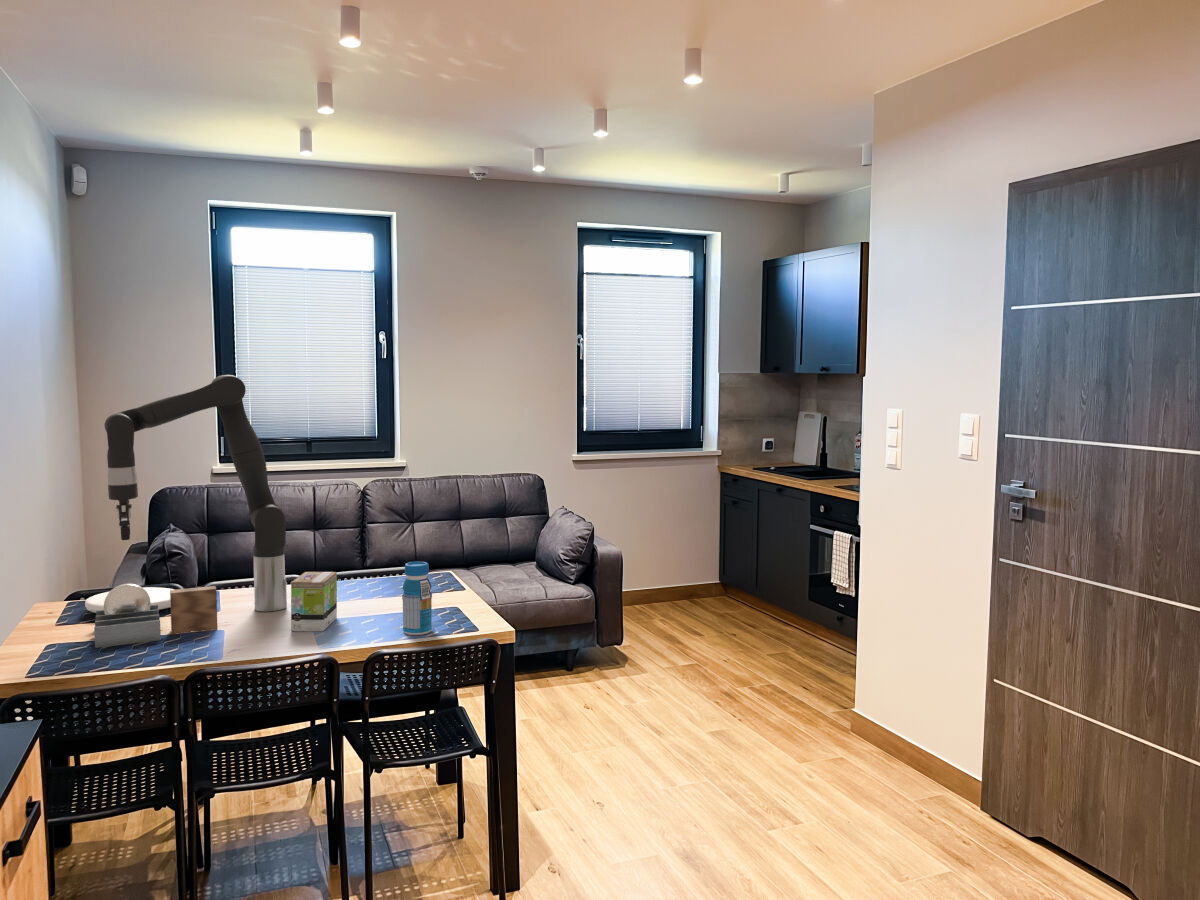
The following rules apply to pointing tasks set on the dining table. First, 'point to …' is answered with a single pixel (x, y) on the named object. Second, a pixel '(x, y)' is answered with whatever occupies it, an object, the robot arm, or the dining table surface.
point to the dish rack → (127, 618)
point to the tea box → (313, 601)
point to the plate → (156, 594)
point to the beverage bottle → (417, 599)
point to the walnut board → (193, 609)
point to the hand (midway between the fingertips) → (125, 537)
